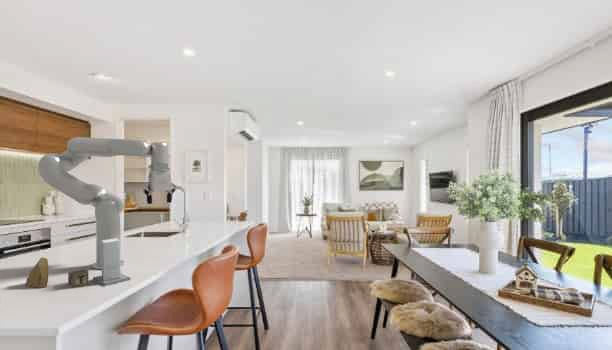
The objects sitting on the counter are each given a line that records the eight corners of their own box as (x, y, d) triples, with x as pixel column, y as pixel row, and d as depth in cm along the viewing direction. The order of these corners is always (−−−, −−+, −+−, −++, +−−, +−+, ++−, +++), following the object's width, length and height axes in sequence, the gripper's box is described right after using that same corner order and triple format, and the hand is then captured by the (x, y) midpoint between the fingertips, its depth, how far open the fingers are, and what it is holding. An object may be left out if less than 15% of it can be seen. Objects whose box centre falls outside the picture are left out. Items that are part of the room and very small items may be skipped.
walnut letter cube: (68, 285, 121) (68, 271, 121) (83, 281, 125) (83, 268, 125) (73, 288, 118) (73, 274, 118) (88, 284, 122) (88, 271, 122)
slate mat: (92, 280, 127) (92, 277, 127) (117, 274, 134) (117, 272, 134) (105, 285, 119) (105, 283, 119) (130, 279, 127) (130, 277, 127)
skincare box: (120, 278, 125) (121, 240, 125) (102, 281, 121) (102, 242, 122) (118, 273, 132) (118, 237, 132) (100, 276, 128) (100, 239, 128)
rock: (55, 280, 119) (60, 270, 128) (37, 264, 116) (43, 255, 125) (26, 301, 116) (33, 289, 124) (6, 285, 113) (15, 274, 121)
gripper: (145, 167, 146) (145, 204, 146) (180, 168, 160) (180, 202, 160) (137, 167, 151) (137, 204, 150) (172, 168, 164) (172, 201, 164)
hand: (159, 203), depth 155 cm, fingers open, 9 cm apart
